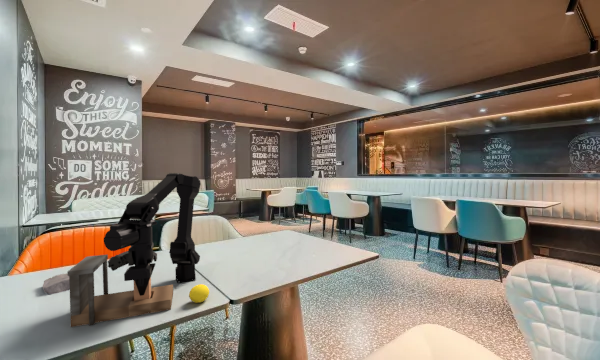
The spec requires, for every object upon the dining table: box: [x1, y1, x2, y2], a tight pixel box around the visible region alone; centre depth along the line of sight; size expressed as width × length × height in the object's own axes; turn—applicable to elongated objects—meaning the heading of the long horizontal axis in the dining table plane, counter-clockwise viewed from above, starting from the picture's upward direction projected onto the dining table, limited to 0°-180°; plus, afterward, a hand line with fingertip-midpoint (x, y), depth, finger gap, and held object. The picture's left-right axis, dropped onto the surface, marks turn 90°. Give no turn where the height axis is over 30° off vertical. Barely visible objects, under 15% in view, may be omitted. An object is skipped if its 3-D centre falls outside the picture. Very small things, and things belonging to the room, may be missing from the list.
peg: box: [133, 276, 152, 301], centre depth 84 cm, size 4×4×9 cm
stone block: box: [42, 273, 70, 295], centre depth 99 cm, size 12×5×10 cm
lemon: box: [188, 283, 210, 304], centre depth 86 cm, size 7×5×5 cm
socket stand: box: [67, 254, 174, 328], centre depth 82 cm, size 24×14×15 cm, turn 112°
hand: (143, 292), depth 84 cm, fingers closed on peg, 4 cm apart
